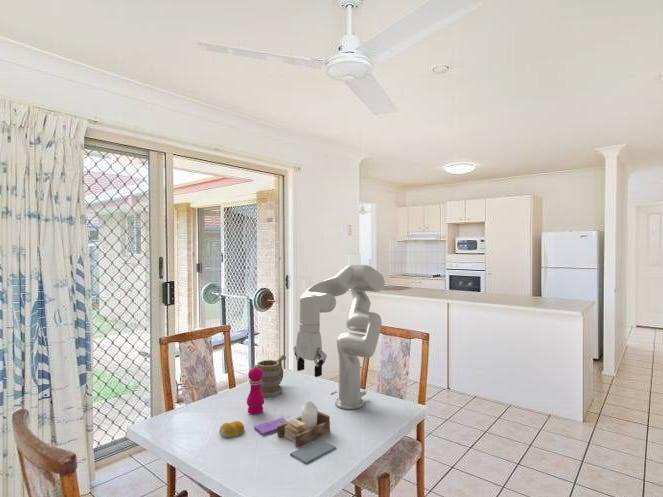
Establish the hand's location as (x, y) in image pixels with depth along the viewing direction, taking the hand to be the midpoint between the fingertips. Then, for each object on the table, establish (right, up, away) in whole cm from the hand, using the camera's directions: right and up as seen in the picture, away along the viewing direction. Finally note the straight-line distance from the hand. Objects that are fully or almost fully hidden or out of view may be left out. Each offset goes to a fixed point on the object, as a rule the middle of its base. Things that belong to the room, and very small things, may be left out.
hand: (309, 373), depth 150 cm
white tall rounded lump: (0, -23, 0) cm, 23 cm away
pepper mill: (-24, -22, +18) cm, 37 cm away
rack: (-2, -22, -2) cm, 22 cm away
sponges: (-14, -23, +3) cm, 27 cm away
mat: (+2, -22, -14) cm, 27 cm away
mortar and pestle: (-20, -22, +43) cm, 53 cm away
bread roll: (-29, -23, -1) cm, 37 cm away
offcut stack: (-5, -22, -5) cm, 23 cm away
